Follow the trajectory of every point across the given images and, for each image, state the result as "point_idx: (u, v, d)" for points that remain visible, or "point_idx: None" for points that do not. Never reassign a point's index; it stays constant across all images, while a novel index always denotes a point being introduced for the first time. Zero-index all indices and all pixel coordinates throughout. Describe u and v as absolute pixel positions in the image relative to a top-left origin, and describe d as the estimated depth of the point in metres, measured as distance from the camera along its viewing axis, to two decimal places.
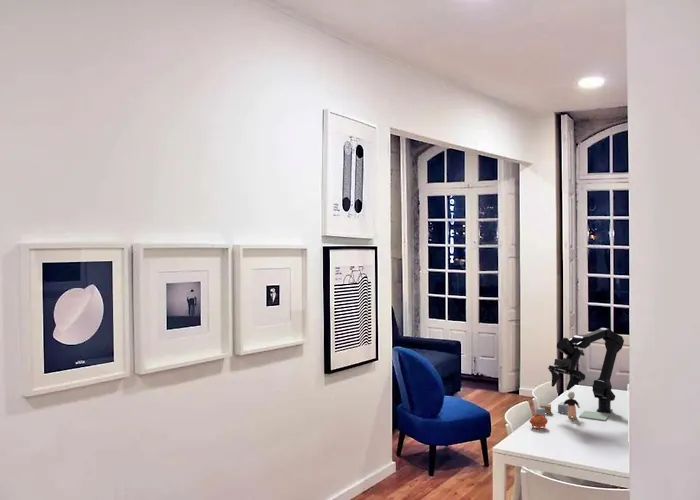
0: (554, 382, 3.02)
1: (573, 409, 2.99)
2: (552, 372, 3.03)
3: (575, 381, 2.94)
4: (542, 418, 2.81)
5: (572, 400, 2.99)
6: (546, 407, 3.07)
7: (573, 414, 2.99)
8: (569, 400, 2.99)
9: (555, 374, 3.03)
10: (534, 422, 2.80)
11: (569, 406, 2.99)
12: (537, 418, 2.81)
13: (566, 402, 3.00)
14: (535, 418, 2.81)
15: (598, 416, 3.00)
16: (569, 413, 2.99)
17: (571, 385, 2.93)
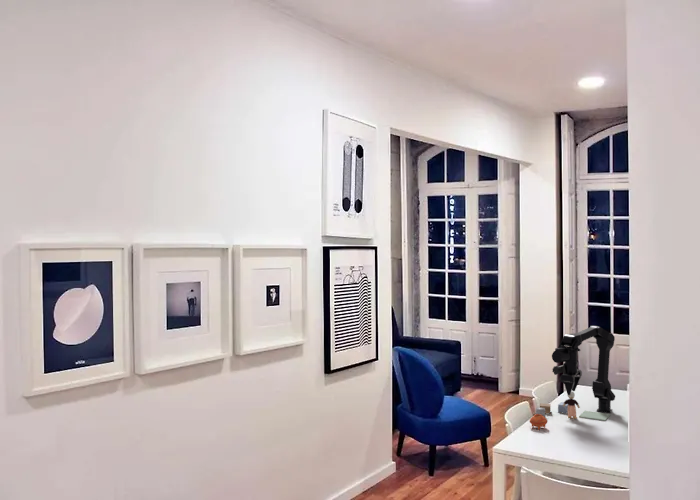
0: (573, 386, 3.04)
1: (573, 409, 2.99)
2: None
3: (570, 384, 2.94)
4: (542, 418, 2.81)
5: (572, 400, 2.99)
6: (545, 407, 3.07)
7: (573, 414, 2.99)
8: (569, 400, 2.99)
9: None
10: (534, 422, 2.80)
11: (569, 406, 2.99)
12: (537, 418, 2.81)
13: (566, 402, 3.00)
14: (535, 418, 2.81)
15: (598, 416, 3.00)
16: (569, 413, 2.99)
17: (568, 389, 2.95)
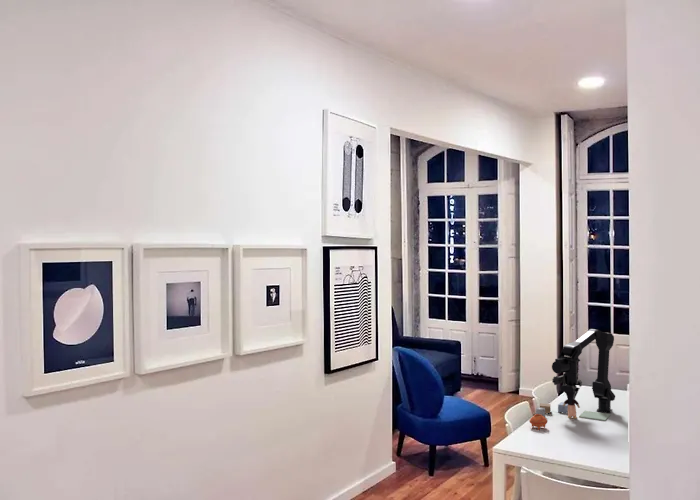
0: None
1: (573, 409, 2.99)
2: None
3: (571, 393, 2.97)
4: (542, 418, 2.81)
5: None
6: (545, 407, 3.07)
7: (573, 414, 2.99)
8: None
9: None
10: (534, 422, 2.80)
11: (569, 406, 2.99)
12: (537, 418, 2.81)
13: (566, 402, 3.00)
14: (535, 418, 2.81)
15: (598, 416, 3.00)
16: (569, 413, 2.99)
17: (570, 398, 2.98)
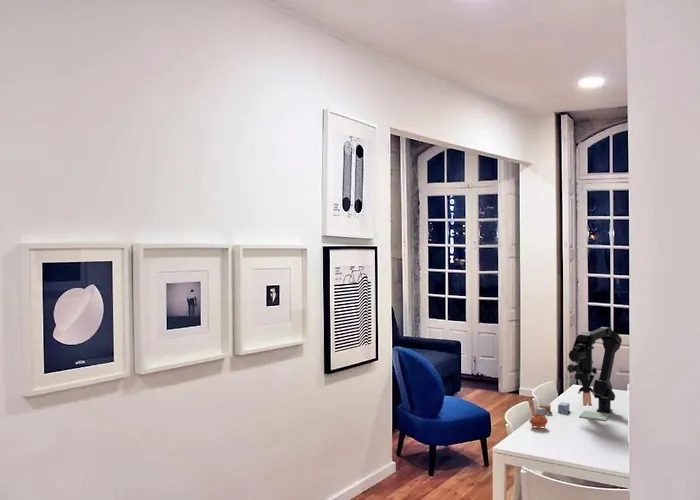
0: None
1: (588, 396, 3.01)
2: None
3: (586, 381, 2.98)
4: (542, 418, 2.81)
5: None
6: (545, 407, 3.07)
7: (588, 401, 3.01)
8: None
9: None
10: (534, 422, 2.80)
11: (584, 393, 3.01)
12: (537, 418, 2.81)
13: (581, 389, 3.02)
14: (535, 418, 2.81)
15: (598, 416, 3.00)
16: (584, 400, 3.01)
17: (585, 386, 2.99)
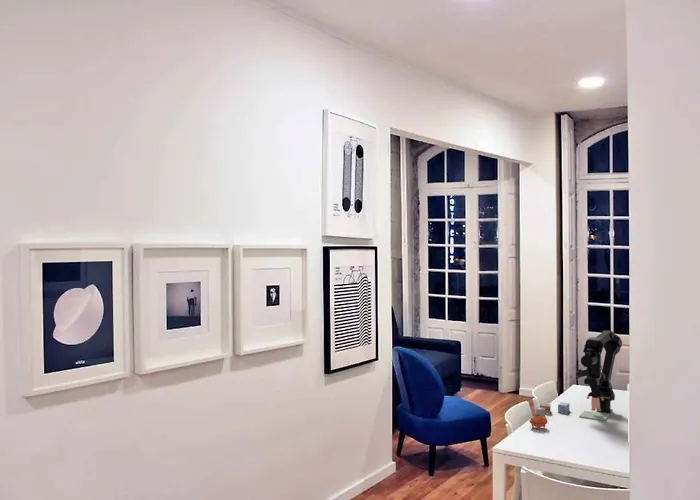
0: None
1: (597, 401, 3.02)
2: None
3: (595, 386, 2.99)
4: (542, 418, 2.81)
5: None
6: (545, 407, 3.07)
7: (597, 406, 3.01)
8: None
9: None
10: (534, 422, 2.80)
11: (593, 398, 3.02)
12: (537, 418, 2.81)
13: (590, 394, 3.03)
14: (535, 418, 2.81)
15: (598, 416, 3.00)
16: (593, 405, 3.02)
17: (594, 391, 3.00)
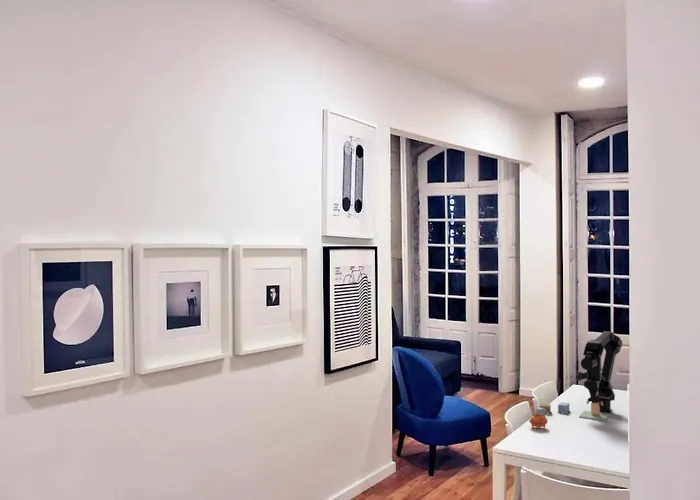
0: None
1: (597, 406, 3.01)
2: None
3: (594, 390, 2.97)
4: (542, 418, 2.81)
5: (596, 397, 3.02)
6: (545, 407, 3.07)
7: (597, 411, 3.01)
8: None
9: None
10: (534, 422, 2.80)
11: (593, 403, 3.02)
12: (537, 418, 2.81)
13: (590, 399, 3.03)
14: (535, 418, 2.81)
15: (598, 416, 3.00)
16: (593, 410, 3.02)
17: (592, 395, 2.98)
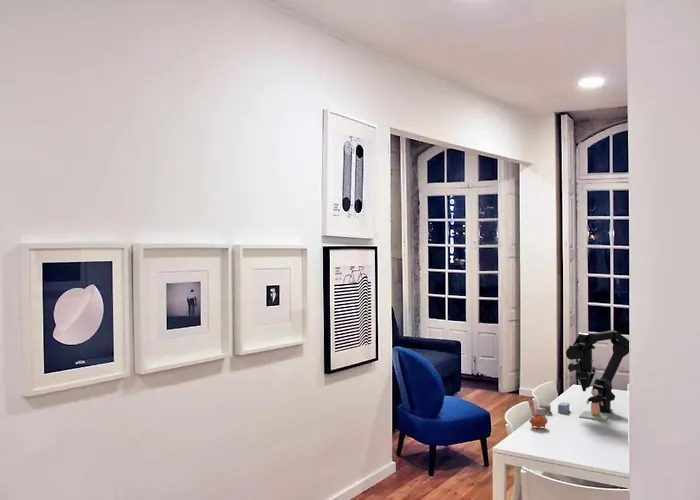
0: (588, 383, 3.11)
1: (597, 406, 3.01)
2: None
3: (585, 381, 3.02)
4: (542, 418, 2.81)
5: (596, 397, 3.01)
6: (545, 407, 3.07)
7: (597, 411, 3.01)
8: (593, 397, 3.02)
9: None
10: (534, 422, 2.80)
11: (593, 403, 3.02)
12: (537, 418, 2.81)
13: (590, 399, 3.03)
14: (535, 418, 2.81)
15: (598, 416, 3.00)
16: (593, 410, 3.02)
17: (584, 386, 3.02)
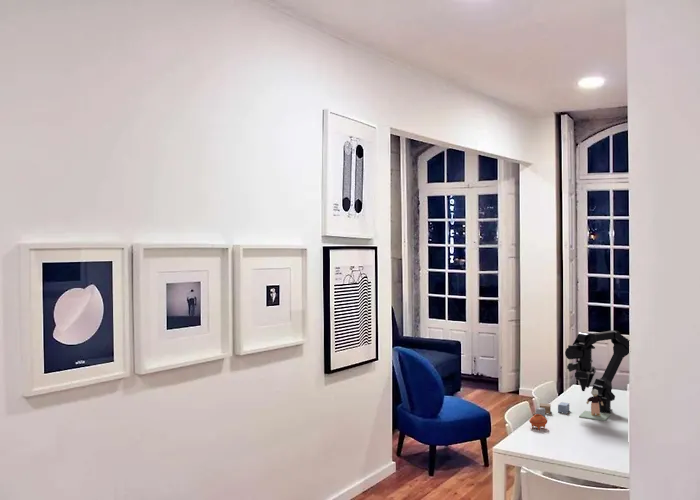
0: (587, 383, 3.11)
1: (597, 406, 3.01)
2: None
3: (585, 380, 3.02)
4: (542, 418, 2.81)
5: (596, 397, 3.01)
6: (545, 407, 3.07)
7: (597, 411, 3.01)
8: (593, 397, 3.02)
9: None
10: (534, 422, 2.80)
11: (593, 403, 3.02)
12: (537, 418, 2.81)
13: (590, 399, 3.03)
14: (535, 418, 2.81)
15: (598, 416, 3.00)
16: (593, 410, 3.02)
17: (583, 385, 3.03)
